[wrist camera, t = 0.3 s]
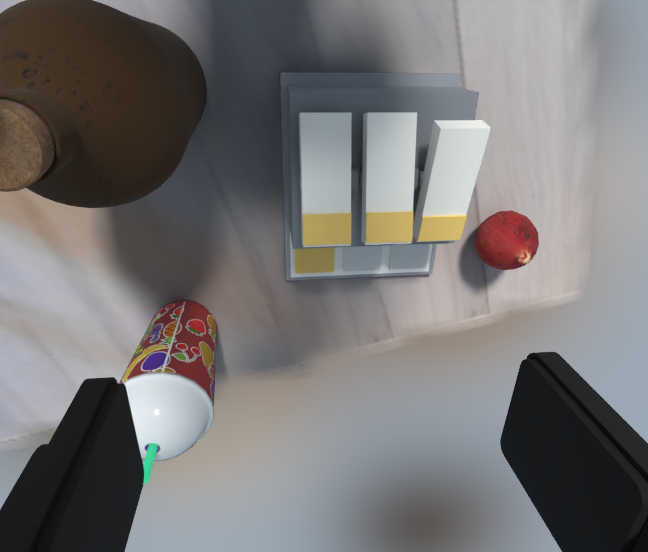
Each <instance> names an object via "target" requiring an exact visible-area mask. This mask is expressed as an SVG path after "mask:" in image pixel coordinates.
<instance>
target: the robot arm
mask: <svg viewBox="0 0 648 552" xmlns="http://www.w3.org/2000/svg"><path fill="white" fill-rule="evenodd" d="M500 442H501V449H502V452H503V454H504V456H505V458H506V460H507V461H508V463H509V465H510V466H511V468H512V469H513V471H514V473H515V474H516V476H517V478H518V479H519V481H520V483H521V484H522V486H523V488H524V489H525V491H526V492H527V494H528V496H529V497H530V499H531V501H532V503H533V504H534V506H535V507H536V509H537V511H538V512H539V514H540V516H541V517H542V519H543V520H544V522H545V524H546V526H547V527H548V529H549V530H550V532H551V534H552V536H553V537H554V539H555V541H556V542H557V544H558V545H559V547H560V549H561V550H562V552H648V443H647V442H646V441H645V440H644V439H643V438H642V437H640V436H639V434H638V433H637V432H636V431H635V430H634V429H633V428H632V427H631V426H630V425H629V424H628V423H627V422H626V421H625V420H624V419H623V418H622V417H621V416H620V415H619V414H618V413H617V412H616V411H615V410H614V409H613V408H612V407H611V406H610V405H609V404H608V403H607V402H606V401H605V400H604V399H603V398H602V397H601V396H600V395H599V394H598V393H597V392H596V391H595V390H594V389H593V388H592V387H591V386H590V385H589V384H588V383H587V382H586V381H585V380H584V379H583V378H582V377H581V376H580V375H579V374H578V373H577V372H576V371H575V370H574V369H573V368H572V367H571V366H570V365H569V364H568V363H567V362H566V361H565V360H564V359H563V358H562V357H561V356H560V355H559V354H557V353H556V352H540V353H531V354H529V355H528V356H527V359H525V360H523V361H522V363H521V365H520V368H519V372H518V376H517V380H516V384H515V388H514V391H513V395H512V398H511V402H510V406H509V410H508V414H507V417H506V421H505V425H504V428H503V432H502V436H501V441H500ZM143 482H144V467H143V463H142V458H141V454H140V449H139V444H138V440H137V435H136V431H135V426H134V422H133V417H132V413H131V408H130V404H129V399H128V394H127V390H126V386H125V385H124V384H123V383H122V384H118V383H117V380H116V379H115V378H113V377H110V378H93V379H86V380H84V382H83V383H82V385H81V386H80V388H79V390H78V392H77V394H76V395H75V397H74V399H73V401H72V403H71V404H70V406H69V408H68V410H67V412H66V413H65V415H64V417H63V419H62V421H61V422H60V424H59V426H58V428H57V430H56V431H55V433H54V435H53V437H52V439H51V441H50V442H49V444H44V445H41V446H40V447H38V448H37V449H36V451H35V452H34V453H33V455H32V456H31V458H30V460H29V461H28V463H27V465H26V467H25V468H24V470H23V472H22V473H21V475H20V477H19V479H18V480H17V482H16V484H15V485H14V487H13V489H12V491H11V492H10V494H9V496H8V498H7V499H6V501H5V503H4V504H3V506H2V508H1V510H0V552H124V551H125V547H126V544H127V540H128V536H129V533H130V530H131V526H132V523H133V519H134V515H135V511H136V508H137V505H138V501H139V497H140V494H141V490H142V487H143Z"/></svg>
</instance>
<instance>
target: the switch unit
mask: <svg viewBox="0 0 648 552" xmlns="http://www.w3.org/2000/svg"><path fill="white" fill-rule="evenodd" d="M460 80H461V74H421V73H307V72H280V91H281V126H282V161H283V196H284V231H285V266H286V281H290V280H312V279H334V278H356V277H379V276H401V275H423V274H432V272H433V265H434V258H435V251H436V245H437V244H441V243H454V241H430V242H417V241H416V239H415V237H414V235H413V237H412V241H411V243H405V244H378V245H365V244H364V243H363V242H362V241H361V236H362V187H361V186H360V173H361V172H362V157H363V114H365V113H372V112H417V128H416V151H415V174H414V196H413V211H414V214H413V223H414V218H415V213H416V208H417V203H418V198H419V193H420V188H421V186H420V185H419V183H418V176H419V172H420V171H424V168H425V163H426V158H427V153H428V148H429V143H430V138H431V133H432V128H433V123H434V120H475V114H476V108H477V102H478V96H479V92H474V91H470V90H466V89H462V88H459V87H460ZM299 113H352V119H351V246H324V247H303V245H302V232H301V192H300V184H299V174H300V152H299Z"/></svg>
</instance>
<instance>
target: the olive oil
mask: <svg viewBox="0 0 648 552" xmlns="http://www.w3.org/2000/svg"><path fill="white" fill-rule="evenodd" d="M205 102H206V83H205V78H204V74H203V71H202V68H201V66H200V63H199V61H198V59H197V58H196V56H195V54H194V53H193V52H192V50H191V49H190V48H189V46H188V45H187V44H186V43H185V42H184V41H183V40H182V39H181V38H179V37H178V36H177V35H176V34H174V33H173V32H171V31H169V30H168V29H166V28H164V27H162V26H159V25H157V24H154V23H150V22H147V21H143V20H141V19H138V18H136V17H133V16H130V15H128V14H126V13H123V12H121V11H119V10H117V9H114V8H112V7H110V6H107V5H105V4H102V3H99V2H96V1H93V0H26V1H23V2H20V3H18V4H16V5H14V6H12V7H10V8H8V9H6V10H5V11H3V12H2V13H0V191H4V192H9V191H17V190H21V189H24V188H27V189H29V190H31V191H33V192H34V193H36V194H38V195H40V196H43V197H45V198H47V199H50V200H53V201H55V202H59V203H62V204H66V205H71V206H77V207H86V208H102V207H111V206H117V205H122V204H126V203H129V202H132V201H135V200H138V199H140V198H142V197H144V196H146V195H148V194H150V193H151V192H153V191H154V190H156V189H157V188H158V187H160V186H161V185H162V184H163V183H164V182H165V181H166V180H167V179H168V178H169V177H170V176H171V174H172V173H173V172H174V170H175V169H176V167H177V166H178V164H179V162H180V160H181V158H182V156H183V154H184V152H185V149H186V147H187V144H188V142H189V139H190V137H191V135H192V133H193V130H194V128H195V126H196V125H197V123H198V121H199V119H200V117H201V115H202V113H203V110H204V107H205Z"/></svg>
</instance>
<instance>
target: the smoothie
mask: <svg viewBox="0 0 648 552" xmlns="http://www.w3.org/2000/svg"><path fill="white" fill-rule="evenodd" d="M216 343H217V326H216V322H215V320H214V318H213V316H212V315H211V314H210V313H209V311H208V310H207V309H206V308H205V307H204V306H202V305H200V304H198V303H196V302H193V301H188V300H182V301H176V302H173V303H170V304H168V305H166V306H164V307H162V308H161V309H160V310H159V311H157V312H156V314H155V316H154V317H153V319H152V321H151V323H150V325H149V327H148V329H147V331H146V332H145V334H144V336H143V338H142V340H141V342H140V344H139V346H138V348H137V350H136V352H135V354H134V356H133V357H132V359H131V361H130V363H129V365H128V367H127V369H126V371H125V373H124V375H123V377H122V379H121V381H120V382H119V384H122V383H123V384H124V385H125V386H126V390H127V394H128V399H129V404H130V408H131V413H132V417H133V422H134V426H135V431H136V435H137V440H138V444H139V449H140V454H141V458H142V459H143V460H145V461H144V464H143V467H144V482H143V483H147V482H148V481H149V478H150V474H151V470H152V466H153V462H154V461H163V460H168V459H171V458H174V457H177V456H179V455H181V454H182V453H184V452H185V451H187V450H188V449H190V448H191V447H192V446H193V445H194V444H195V443H196V441H197V440H198V439H200V438H201V437H203V436H204V434H205V433H206V432H207V430H208V429H209V428H210V427H211V423H212V421H213V417H214V410H213V406H214V386H215V364H216Z"/></svg>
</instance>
